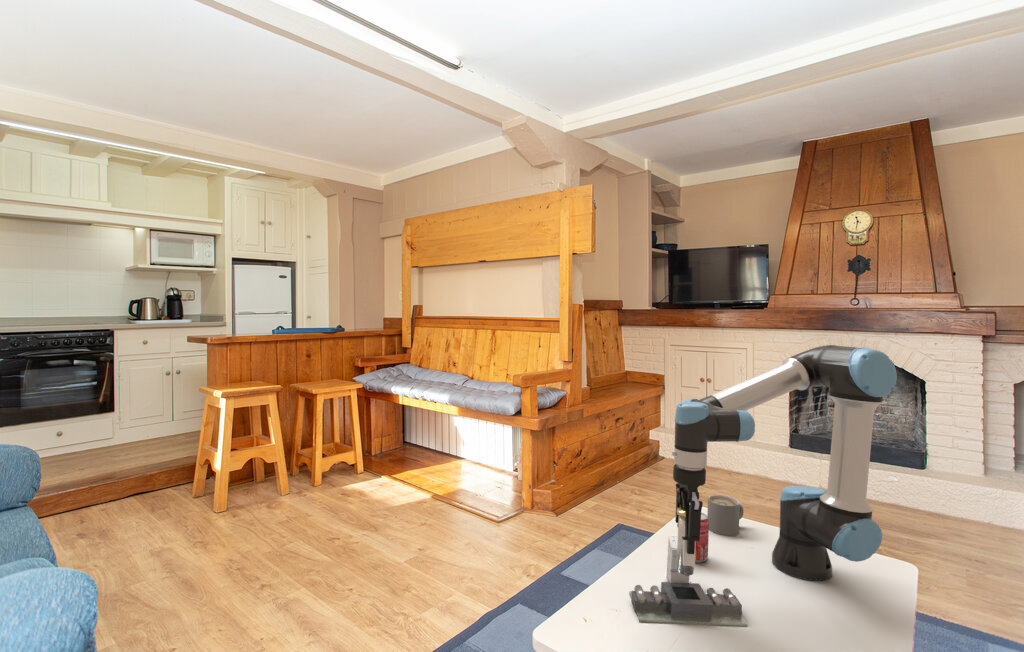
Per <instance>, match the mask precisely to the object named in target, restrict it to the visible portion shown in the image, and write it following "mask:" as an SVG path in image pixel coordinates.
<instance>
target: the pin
mask: <svg viewBox="0 0 1024 652" xmlns="http://www.w3.org/2000/svg"><path fill="white" fill-rule="evenodd" d="M677 515H678V516H679V522H678V523H677V524H678V527H677V537H678V546H677V572H679V573H680V574H683V575H689V576H692V575H694V573H695V566H683V541H684V540H683V539H682V537H685V517H686V514H685V510H684V509H683V508H681V507H679V508H677Z"/></svg>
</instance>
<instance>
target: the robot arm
mask: <svg viewBox="0 0 1024 652" xmlns="http://www.w3.org/2000/svg"><path fill="white" fill-rule="evenodd" d="M897 377H898V375H897V369H896V367H895V364H894V362H893V361H892V359H891V358H889V356H888V355H887V354H886V353H884V352H882V351H881V350H877V349H872V348H867V347H855V346H844V345H843V346H842V345H836V344H835V345H834V344H830V345H829V344H827V345H822V346H821V345H820V346H817V347H813V348H809V349H808V350H804V351H802V352H800V353H796V354H794V355H792V356H790V357H787V358H785V359H784V360H783V361H782V363H781V364H780V365H778V366H775V367H773V368H771V369H769V370H767V371H763V372H761V373H759V374H757V375H755V376H754V375H753V376H752V377H749V378H748V379H746V380H743V381H741V382H738V383H735V384H734V385H731V386H729V387H727V388H724V389H722V390H720V391H717V392H714V393H712V394H710V395H708V396H705V397H703V398H700V399H699V398H698V399H697V398H687V399H685V400H683V401H679V402H678V403H677V405H676V409H675V418H674V429H675V430H674V449H673V450H674V451H672V452H671V456H673V463H674V465H673V470H672V479H673V481H674V482H675V483H676V484H675V491H676V493H675V494H676V495H675V496H676V497H675V520H674V521H675V523H676V525H677V528H678V522H679V516H678V515H677V508H679V507H681V508H683V509H684V510H685V514H686V517H685V537H682V539H683V540H684V541H683V566H694V567H696V562H695V550H696V541H700V525H701V513H702V511H703V509H702V508H703V505H704V504H703V501H702V500H699V499H700V492H699V490H698V488H699V487H700V486H704V485H705V484H706V480H707V477H706V476H707V469H706V467H707V464H708V463H707V461H708V460H707V459H708V442H709V443H711V442H712V443H713V442H715V443H716V442H717V443H718V442H719V443H720V442H735V443H739V442H747V441H749V440H751V439H752V438H753V437H754V435H755V432H756V430H755V429H756V423H755V419H754V417H753V416H752V414H751V413H750V412H749V411H750V409H753V408H756V407H758V406H760V405H763V404H765V403H767V402H769V401H771V400H773V399H776V398H778V397H781V396H784V395H785V394H788V393H790V392H792V391H795V390H799V391H805V390H807V389H809V388H813V387H826V388H829V390H828V391H829V392H828V397H829V398H830V399H831V400H832V401H833V403H834V408H833V409H834V410H833V423H832V430H831V431H832V433H831V445H830V456H829V465H828V467H829V468H828V477H827V490H825V489H822V488H819V487H814V486H806V485H789V486H785V487H783V489H782V490H781V492H780V496H781V497H780V498H779V503H780V504H779V506H780V507H779V536H778V538H777V541H776V544H775V545H774V548H773V550H772V553H771V562H772V564H773V566H774V567H775V568H776V569H778V570H780V571H781V572H783V573H785V574H787V575H789V576H792V577H794V578H798V579H802V580H808V581H825V580H829V579H830V578H832V576H833V565H832V562H831V559H830V555H829V552H828V550H829V551H831V552H832V553H834V554H835V555H836V556H838V557H842V558H844V559H846V560H848V561H851V562H855V563H856V562H863V561H866V560H869V559H870V558H871V557H872V556H873V555H874V554H876V553H877V552H878V550H879V549H880V547H881V544H882V541H883V532H882V528H881V527H880V526H879V524H878V523H877V522H876V521H875V520H873V519H872V518H873V507H872V506H871V505H870V503H868V501H867V493H868V483H869V482H868V481H869V473H870V472H869V471H870V460H871V449H872V440H873V439H872V437H873V427H874V419H875V418H874V416H875V409H876V408H877V407H879V406H880V405H881V404H883V399H884V398H883V397H885V396H887V395H889V394H890V393H892V389H894V388H895V387H896V384H897V380H898V378H897ZM748 410H749V411H748ZM677 546H678V544H677Z"/></svg>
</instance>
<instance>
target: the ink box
mask: <svg viewBox="0 0 1024 652" xmlns="http://www.w3.org/2000/svg"><path fill="white" fill-rule="evenodd" d="M667 542H668V543H667V559H666V560H667V561H666V582H672V583H690V575H683V574H680V573H679V572H677V544H678V536H674V535H668V540H667Z"/></svg>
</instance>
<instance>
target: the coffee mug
mask: <svg viewBox="0 0 1024 652" xmlns="http://www.w3.org/2000/svg"><path fill="white" fill-rule="evenodd" d="M744 510H745V509H744V506H743V504H742V503H741V502H740V500H739V499H737V498H736V497H733V496H729V495H723V494H713V495H709V496H708V498H707V511H706V512H707V514H706V515H707V519H708V521H709V531H710V532H711V533H713V534H717V535H719V536H726V537H733V536H737V535H739V533H740V520H741V519H742V518H743V516H744Z"/></svg>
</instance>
